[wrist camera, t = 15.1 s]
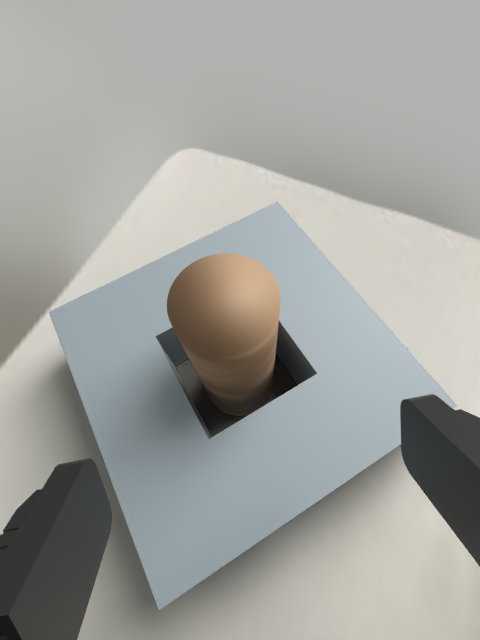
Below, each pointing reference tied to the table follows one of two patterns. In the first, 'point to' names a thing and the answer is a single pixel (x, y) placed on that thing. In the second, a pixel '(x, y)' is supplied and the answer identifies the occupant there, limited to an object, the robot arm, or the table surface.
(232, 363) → the peg
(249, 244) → the socket block
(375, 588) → the table surface
